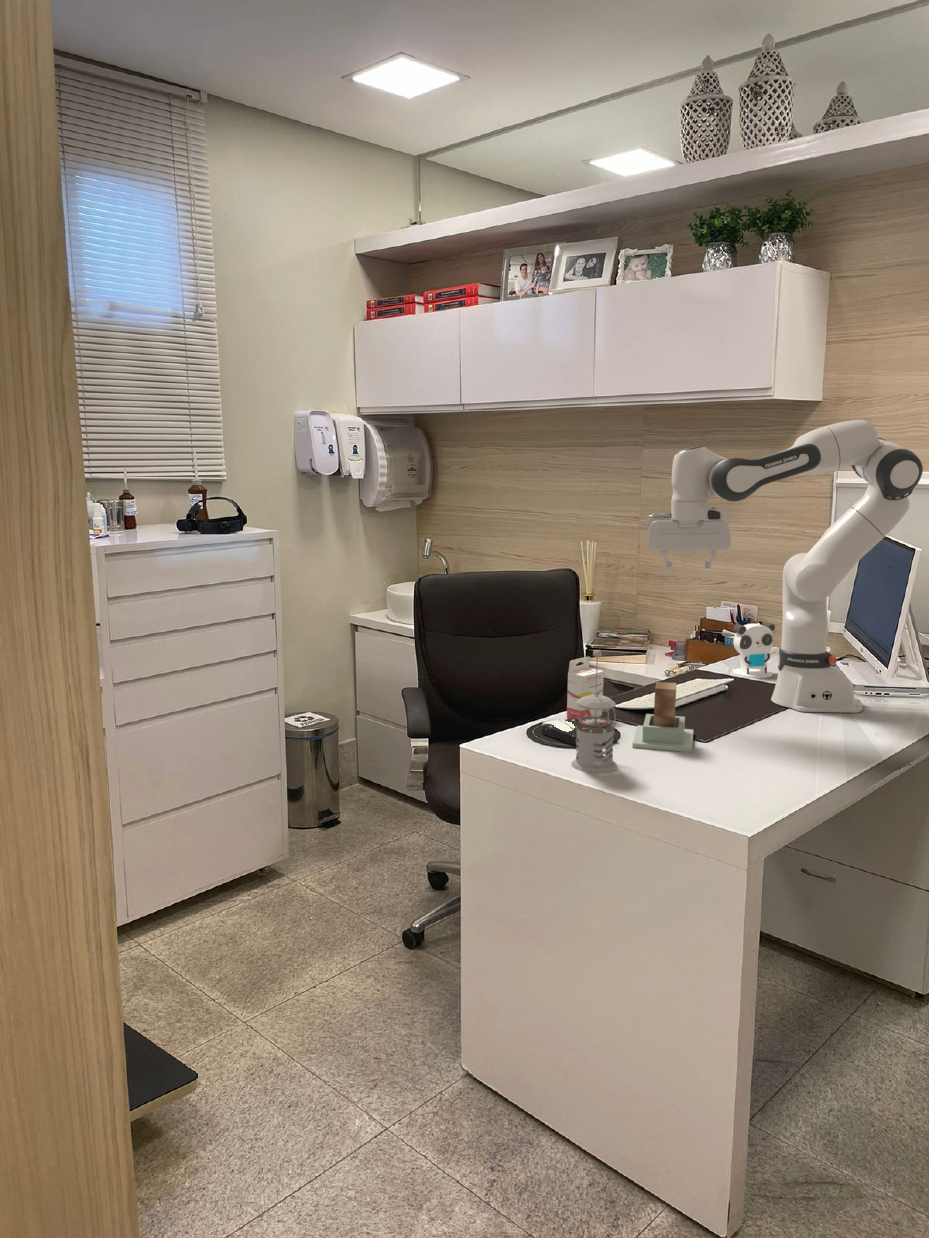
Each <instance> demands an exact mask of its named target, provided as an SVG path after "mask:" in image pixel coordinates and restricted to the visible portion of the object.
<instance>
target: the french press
mask: <svg viewBox="0 0 929 1238" xmlns="http://www.w3.org/2000/svg"><path fill="white" fill-rule="evenodd" d="M602 654H603V653H602V651H601V650H600V649H596V650H593V652H592V656H593V657H596V668H595V669H596V694H593V695H588V696H585V697H582V698H580V699H579V700H578V701H577V704H578V705H579V706H580V707H582V708H585V709H591V710H595V716H590V717H589V716H588V717H582V718H580V719H579V723H580V725H578V726H577V740H578V739H579V740H578V742H577V741H576V743H577V745H578V747H577V745H576V746H575V747H576V749H575V759H573V760H572V761H571V764H570V765H571V767H572V768H574V769H575V770H578V771H581V772H585V773H589V774H590V773H593V774H596V773H597V774H602V773H603V774H604V773H609V772H612V771H615V770H616V769H617V768H618V764H617V763H616V762H615V761H614V755H613V753H614V748H613V747H614V742H613V738H614V737H613V734H614V733H615V728H616V718H617V717H616V712H615V709H614V708H615V706H616V702H615V701H614V700H613V699H611V697H609V696H606V695H604V694H603V695H598V694H597V670H598V668H599V667H598V666H599V665H598V662H599V661H598V659H599V658H598V657H603V656H602ZM610 709H612V711H613V714H614V720H612V719H610ZM596 710H602V712H605V713H607V717H605V716H603V717H602V716H599V717H598V716H596ZM611 725H613V726H611ZM582 728H588V729H591V730H592V733H591V732H588V731H580V730H581V729H582ZM603 728H605V729H606V730H605V733H603ZM605 742H606V744H605V745H603V743H605ZM604 749H605V750H604ZM603 750H604V751H603Z"/></svg>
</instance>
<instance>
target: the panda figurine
mask: <svg viewBox="0 0 929 1238" xmlns="http://www.w3.org/2000/svg"><path fill="white" fill-rule="evenodd" d="M775 629H776V626H775V625H774V624H773V623H770V622H766V621H765V622H763V623H762V624H760V623H748V624H744V625H742V624H739V623H736V624H734V626H733V628H732V631H733V632H734V633H735V635H734V637H733V647H734V650H735V651H736V652H737V653H739V655H740V667H738V668H734V669H733V670H732V673H733V675H736V676H738V677H743V678H748V679H750V678H752V679H767V678H770V677H772V676H773V672H772V671H770V670H768V661H770V659H771V655H770V652H771V651H772V649H773V647H774V641H775V640H774V634H773V631H775Z"/></svg>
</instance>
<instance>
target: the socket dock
mask: <svg viewBox="0 0 929 1238" xmlns="http://www.w3.org/2000/svg"><path fill="white" fill-rule="evenodd" d="M685 722H686V717H685V716H681V715H680V716H679V715H675V727H662V726H654V713H653V714H652V713H646V714H645V717H644V722H643V725H636V726H637V727H636V729H635V732H634V733H635V734H634V737H633V740H632V746H631V747H632V748H636V749H646V750H647V749H648V750H659V751H673V752H682V753H683V752H684V753H693V741H694V740H693V739H694V729H692V728H691V729H690V728H685V725H686V723H685Z"/></svg>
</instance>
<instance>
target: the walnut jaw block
mask: <svg viewBox="0 0 929 1238" xmlns="http://www.w3.org/2000/svg"><path fill="white" fill-rule="evenodd" d="M676 701H677V682H664V681H656V682H655V688H654V701H653V702H654V708H653V714H654V726H662V727H675V716H676Z"/></svg>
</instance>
